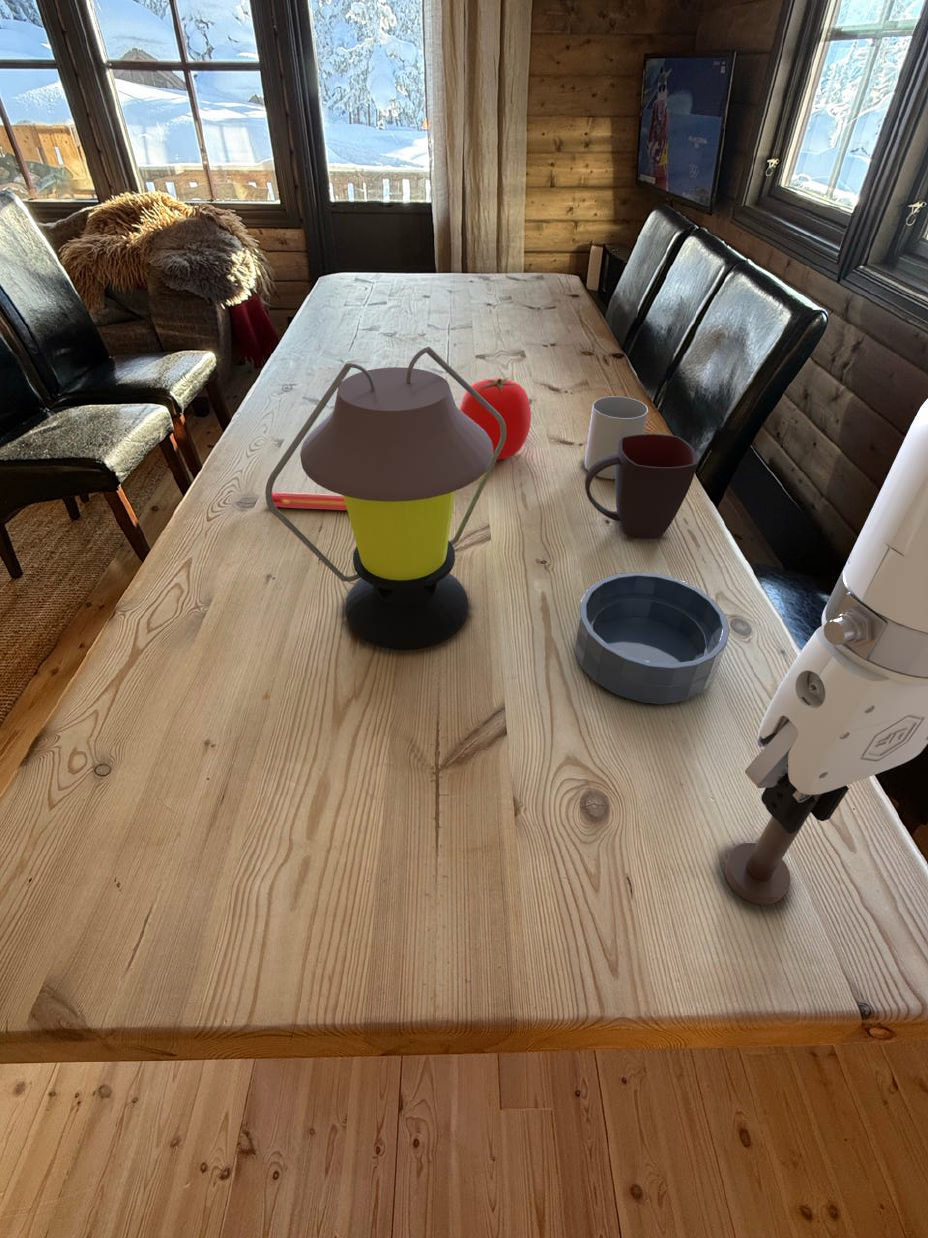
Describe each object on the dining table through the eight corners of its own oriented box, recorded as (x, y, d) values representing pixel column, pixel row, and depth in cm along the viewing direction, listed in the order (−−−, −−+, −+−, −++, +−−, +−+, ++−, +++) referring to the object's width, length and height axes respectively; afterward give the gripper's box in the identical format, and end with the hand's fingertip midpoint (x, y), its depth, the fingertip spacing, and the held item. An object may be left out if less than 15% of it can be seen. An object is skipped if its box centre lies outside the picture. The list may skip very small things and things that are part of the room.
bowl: (723, 634, 77) (738, 594, 73) (701, 728, 66) (717, 686, 62) (595, 598, 81) (602, 559, 77) (555, 680, 71) (561, 639, 67)
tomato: (541, 462, 108) (549, 386, 100) (478, 476, 104) (480, 399, 96) (506, 432, 116) (510, 359, 108) (446, 444, 113) (445, 370, 104)
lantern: (294, 672, 71) (233, 403, 52) (306, 567, 86) (262, 326, 66) (520, 656, 73) (544, 392, 54) (494, 556, 88) (506, 320, 68)
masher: (787, 863, 55) (860, 748, 45) (783, 915, 52) (860, 804, 42) (728, 841, 56) (785, 726, 46) (720, 890, 53) (779, 777, 43)
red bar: (276, 502, 99) (266, 509, 95) (275, 488, 98) (265, 494, 94) (435, 509, 98) (431, 517, 94) (435, 495, 97) (431, 502, 93)
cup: (596, 450, 112) (605, 392, 105) (643, 462, 108) (655, 403, 102) (576, 470, 106) (584, 410, 99) (625, 484, 103) (636, 423, 96)
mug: (685, 547, 90) (707, 467, 82) (585, 549, 89) (598, 470, 81) (664, 508, 97) (683, 432, 90) (572, 511, 97) (582, 434, 89)
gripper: (842, 704, 31) (735, 894, 43) (1076, 627, 35) (919, 819, 47) (739, 608, 36) (670, 801, 48) (953, 551, 40) (840, 741, 52)
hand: (794, 809), depth 48 cm, fingers closed on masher
